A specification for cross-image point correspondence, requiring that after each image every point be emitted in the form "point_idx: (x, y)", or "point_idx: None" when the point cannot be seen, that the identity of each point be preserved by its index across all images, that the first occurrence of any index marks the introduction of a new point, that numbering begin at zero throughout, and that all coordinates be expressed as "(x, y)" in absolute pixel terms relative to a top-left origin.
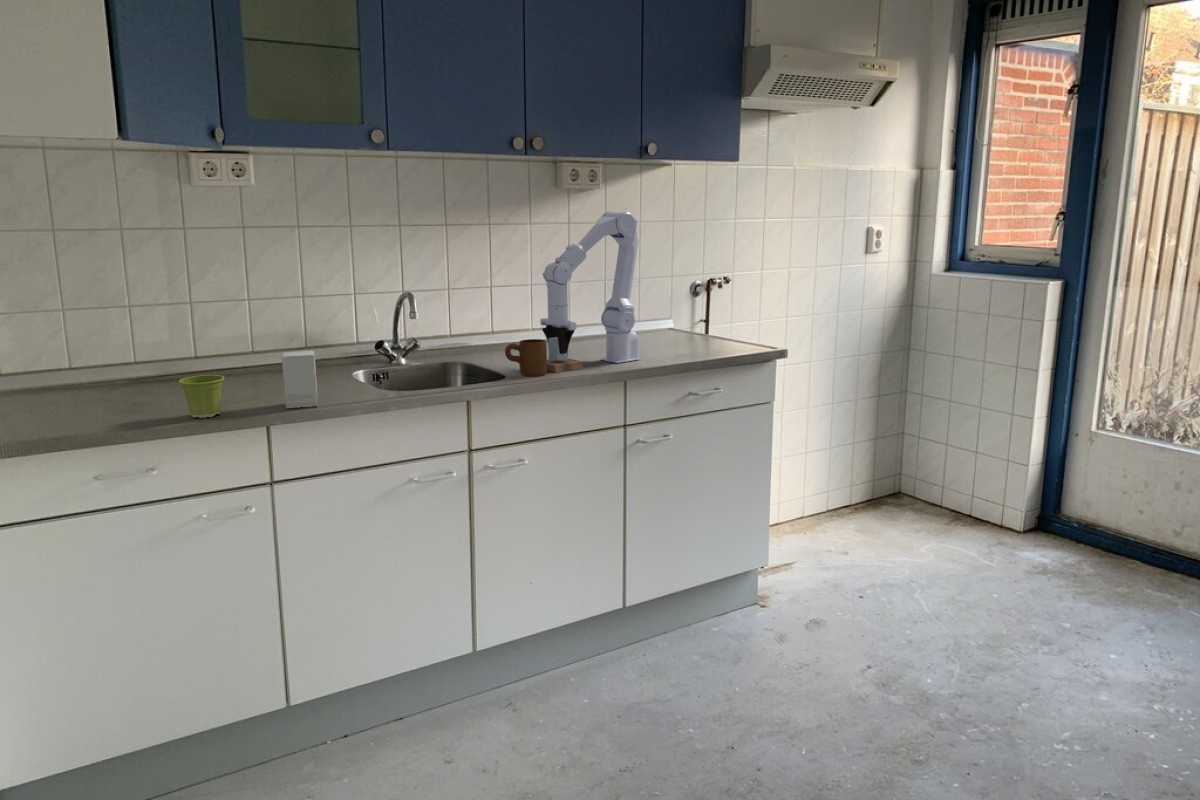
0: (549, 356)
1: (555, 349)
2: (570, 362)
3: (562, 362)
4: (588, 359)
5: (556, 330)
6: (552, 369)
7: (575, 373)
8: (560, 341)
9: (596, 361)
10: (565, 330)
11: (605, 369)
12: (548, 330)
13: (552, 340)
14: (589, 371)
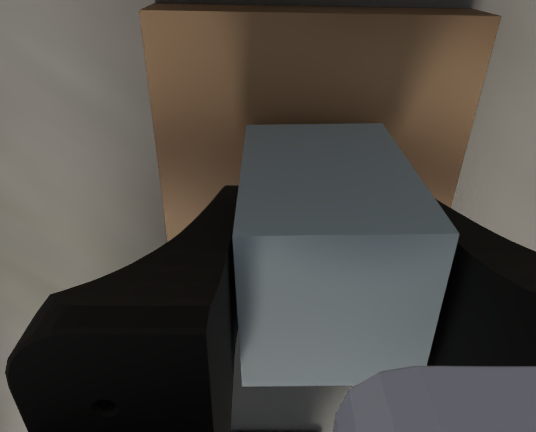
0: (374, 131)
1: (274, 167)
2: (200, 211)
3: None
4: None
5: (141, 320)
6: (197, 6)
7: (41, 114)
8: (176, 241)
9: (314, 411)
10: (31, 423)
11: None
12: (533, 340)
13: (346, 222)
14: (62, 228)
